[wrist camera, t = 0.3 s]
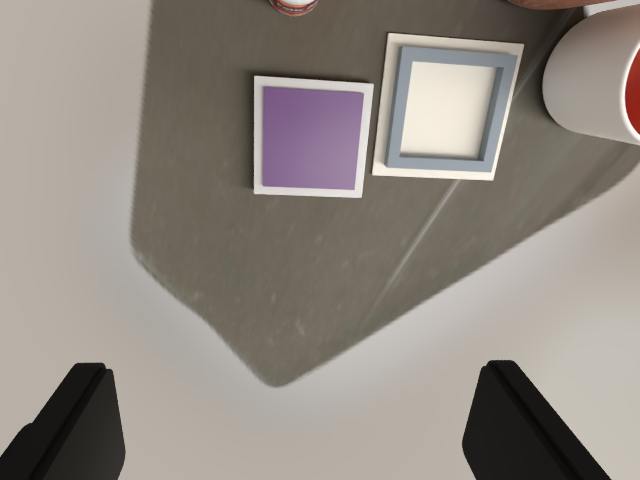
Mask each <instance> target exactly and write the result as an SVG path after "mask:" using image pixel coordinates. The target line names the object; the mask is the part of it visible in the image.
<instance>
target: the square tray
mask: <svg viewBox="0 0 640 480" xmlns="http://www.w3.org/2000/svg"><path fill="white" fill-rule="evenodd" d="M523 48H524V44H516V43H504V42H492V41H480V40H468V39H456V38H443V37H431V36H419V35H407V34H395V33H388V37H387V45H386V54H385V63H384V72H383V80H382V89H381V98H380V107H379V115H378V124H377V133H376V142H375V150H374V159H373V168H372V175H382V176H405V177H428V178H451V179H474V180H493V178H494V173H495V169H496V165H497V160H498V156H499V152H500V147H501V143H502V139H503V134H504V130H505V126H506V122H507V117H508V113H509V109H510V104H511V100H512V96H513V91H514V87H515V83H516V78H517V74H518V70H519V65H520V61H521V57H522V52H523Z"/></svg>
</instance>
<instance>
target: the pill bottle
mask: <svg viewBox="0 0 640 480" xmlns="http://www.w3.org/2000/svg"><path fill="white" fill-rule="evenodd" d="M269 1H270V3H271V4H272V5H273V6H274V7H275V8H276V9H277V10H278V11H280V12H281V13H283V14H286V15H289V16H300V15H303V14H306V13H307V12H309V11H310V10H312V9H313V8H314V7H315V6H316V4H317V3H318V1H319V0H269Z"/></svg>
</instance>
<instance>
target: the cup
mask: <svg viewBox="0 0 640 480" xmlns="http://www.w3.org/2000/svg"><path fill="white" fill-rule="evenodd" d="M542 89H543V98H544V102H545V105H546V108H547V110H548V112H549V114H550V115H551V117H552V118H553V119H554V120H555V121H556V122H557V123H558V124H559V125H561V126H562V127H564V128H566V129H568V130H570V131H573V132H577V133H582V134H587V135H592V136H597V137H602V138H607V139H612V140H617V141H622V142H627V143H632V144H637V145H640V4H638V5H633V6H627V7H622V8H618V9H612V10H607V11H602V12H599V13H596V14H594V15H591V16H589V17H587V18H585V19H584V20H582V21H580V22H579V23H578V24H576V25H575V26H574V27H572V28H571V29H570V30H569V31H568V32H567V33H566V34H565V35H564V36H563V38H562V39H561V40H560V41H559V42H558V44H557V45H556V47H555V48H554V50H553V52H552V53H551V55H550V57H549V59H548V62H547V65H546V68H545V71H544V76H543V85H542Z"/></svg>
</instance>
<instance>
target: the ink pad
mask: <svg viewBox="0 0 640 480" xmlns="http://www.w3.org/2000/svg"><path fill="white" fill-rule="evenodd" d="M373 86H374V84H369V83H355V82H340V81H325V80H311V79H296V78H281V77H267V76H254V194H274V195H300V196H327V197H354V198H362V189H363V180H364V170H365V161H366V152H367V142H368V133H369V124H370V114H371V105H372V96H373Z"/></svg>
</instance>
